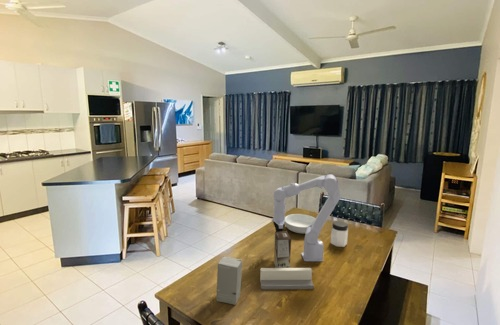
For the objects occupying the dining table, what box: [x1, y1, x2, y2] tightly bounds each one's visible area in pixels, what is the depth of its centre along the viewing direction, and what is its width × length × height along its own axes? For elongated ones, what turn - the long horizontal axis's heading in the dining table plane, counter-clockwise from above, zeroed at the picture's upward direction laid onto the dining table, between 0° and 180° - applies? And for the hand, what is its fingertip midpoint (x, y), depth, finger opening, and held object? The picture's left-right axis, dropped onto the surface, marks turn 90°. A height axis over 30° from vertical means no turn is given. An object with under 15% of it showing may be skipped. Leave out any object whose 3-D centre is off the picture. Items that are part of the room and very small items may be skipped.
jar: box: [330, 220, 349, 248], centre depth 151 cm, size 9×8×12 cm
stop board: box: [259, 267, 315, 290], centre depth 114 cm, size 22×6×6 cm, turn 92°
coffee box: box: [273, 230, 292, 268], centre depth 127 cm, size 9×6×16 cm
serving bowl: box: [284, 213, 316, 235], centre depth 169 cm, size 21×21×7 cm
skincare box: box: [215, 255, 243, 306], centre depth 105 cm, size 8×7×16 cm
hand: (278, 235), depth 140 cm, fingers closed
